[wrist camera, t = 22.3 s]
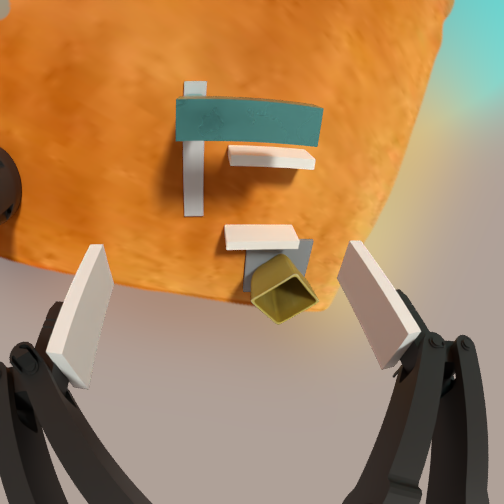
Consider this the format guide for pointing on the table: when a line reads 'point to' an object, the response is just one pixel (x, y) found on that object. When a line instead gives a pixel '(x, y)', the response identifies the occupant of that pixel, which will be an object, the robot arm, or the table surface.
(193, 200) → the white bars
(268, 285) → the flower pot
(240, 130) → the gate
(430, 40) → the table surface
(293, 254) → the mat
